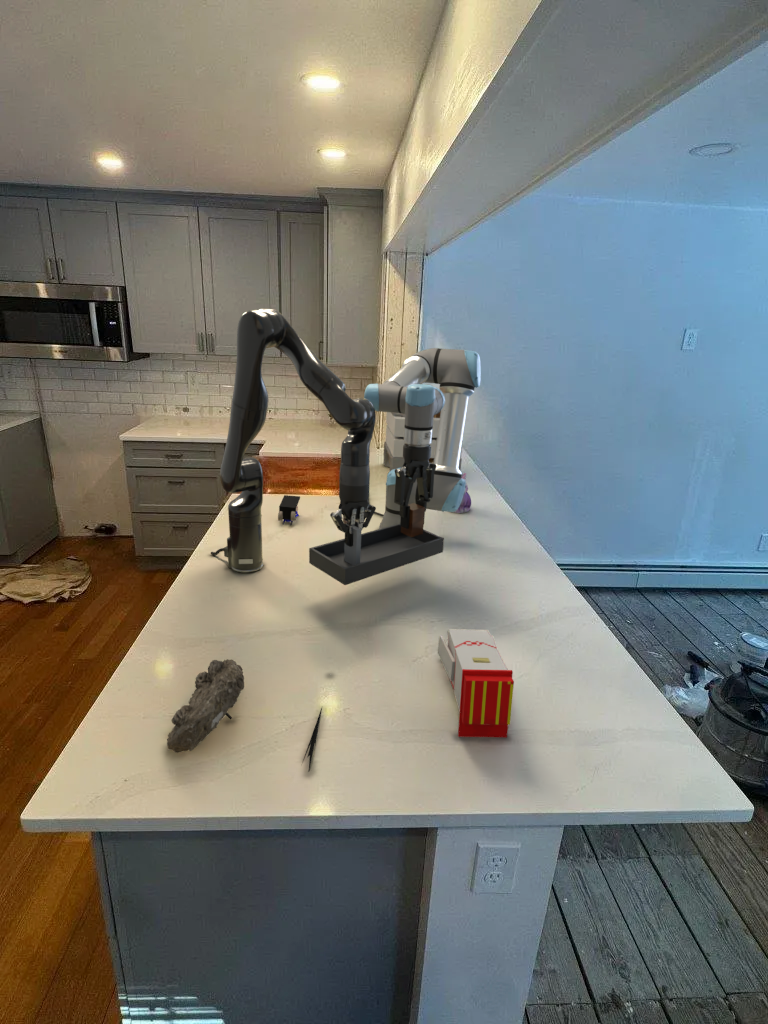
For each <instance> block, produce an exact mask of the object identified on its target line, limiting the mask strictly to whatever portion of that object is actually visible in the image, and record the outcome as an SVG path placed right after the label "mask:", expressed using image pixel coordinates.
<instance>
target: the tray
mask: <svg viewBox="0 0 768 1024" xmlns="http://www.w3.org/2000/svg"><path fill="white" fill-rule="evenodd" d="M444 541H445V538H444V537H442V536H439V535H437V534H435V533H432V532H430V531H428V530H426V529H424V528H423V534H421V535H418V536H414V537H410V536H407V535H405V534H403V533H401V526H400V524H396V525H392V526H389V527H385V528H381V529H379V528H378V529H374V530H371V531H367V532H364V533H362V531H361V529H360V528H358V527H356V526H353V546H351V547H349V546H347V545H346V544H345V538H341V539H338V540H334V541H330V542H326V543H324V544H319V545H316V546H312V547H309V548H308V557H309V558H308V563H309V564H310V565H311V566H313V567H315V568H317V569H318V570H320V571H321V572H323V573H325V574H326V575H327V576H329V577H331V578H332V579H334V580H335V581H337V582H339V583H340V584H342V585H343V586H348V585H350V584H353V583H357V582H359V581H361V580H365V579H368V578H371V577H373V576H377V575H379V574H382V573H386V572H388V571H392V570H394V569H397V568H401V567H403V566H406V565H409V564H412V563H416V562H418V561H422V560H424V559H427V558H430V557H433V556H436V555H439V554H442V553H444Z"/></svg>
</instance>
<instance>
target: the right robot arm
mask: <svg viewBox="0 0 768 1024" xmlns="http://www.w3.org/2000/svg"><path fill="white" fill-rule="evenodd" d="M481 373H482V365H481V358H480V354H479V353H478V352H477V351H475V350H468V349H457V348H456V349H455V348H438V347H433V348H426V349H423V350H420V351H417V352H415V353H413V354H411V355H410V356H409V357H407V358H406V359H405V360H404V361H403V363H402V365H401V367H400V368H399V369H398V370H397V371H395V372H394V373H393V374H392V375H391V376H389V377H388V378H387V379H386V380H385V381H384V382H383V383H369V384H368V385H366V387H365V390H364V394H363V395H364V396H363V398H365V399H368V400H369V401H370V402H371V403H372V404H373V406H374V409H375V412H376V413H377V412H378V413H379V412H381V413H386V412H391V413H402V414H405V426H404V443H405V444H404V445H403V458H404V464H403V467H402V468H396V469H393V470H391V471H390V470H389V472H388V473H387V475H386V482H385V504H384V505H385V507H384V508H385V509H384V513H380V512H377V511H375V512H374V515H377V516H380V517H382V519H381V522H379V525H378V529H381V528H385V527H389V526H392V525H396V524H400V526H401V527H404V528H406V529H409V517H410V506H408V504H412V503H415V504H418V505H420V506H422V507H425V511H424V519H425V517H426V516H425V515H426V511H427V510H432V511H437V512H438V511H439V512H441V513H444V512H447V513H456V512H455V511H456V510H457V509H458V508H459V506H460V504H461V501H462V498H463V495H464V491H465V485H466V484H467V482H466V481H465V480H464V479H462V476H463V472H462V470H461V471H460V470H459V460H460V453H461V446H462V447H463V443H462V441H463V439H464V431H465V424H466V418H467V410H468V404H469V398H470V397H471V396H472V395H474V393H475V389H476V388H477V389H478V388H479V387H480V386H481V378H482V374H481ZM430 384H434V385H439V387H435V386H433V385H430ZM440 411H441V413H440V420H439V427H438V434H437V442H436V449H435V456H434V463H430V462H429V461H428V460H429V459H430V457H431V446H430V445H429V444H431V442H432V429H433V417H434V415H436V414H438V413H439V412H440ZM461 454H462V453H461ZM368 503H369V504H370V497H369V498H368Z"/></svg>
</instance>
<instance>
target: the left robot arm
mask: <svg viewBox="0 0 768 1024" xmlns="http://www.w3.org/2000/svg"><path fill="white" fill-rule="evenodd" d="M270 348H271V349H272V348H276V349H277V350H278V351H280V353H282V354H284V355H285V356H286V357H287V358H288V359H289V360H290V361H291V363H292V365H293V366H294V369H295V371H296V373H297V375H298V378H299V380H300V381H301V383H302V384H303V386H304V387H305V388H306V389H307V390H308V391H309V392H310V393H311V394H313V395H314V397H316V398H317V399H318V400H319V401H320V402H321V403H322V404H323V405H324V407H325V409H326V410H327V412H328V413H329V415H330V416H331V417H332V419H333V420H334V421H335V422H336V424H337V425H338V426H340V427H341V428H343V429H344V430H346V431H347V435H346V437H345V438H344V439H343V440H342V441H341V446H340V465H339V476H338V477H339V478H338V481H339V482H338V498H339V501H340V502H339V505H338V509H337V510H335V512H333V511H332V512H331V513H330V514H329V516H330V518H331V519H332V521H333V523H334V525H335V526H336V528H337V530H338V531H340V532H342V533H344V539H345V544H346V545H347V546H349V547H351V546H353V526H356V527H358V528H360V529H361V532H362V531H363V529H364V528H368V526H369V524H370V522H371V520H372V518H373V515H375V513H374V512H376V510H377V507H376V506H374V505H372V504H370V502H369V503H368V498H369V499H370V484H371V483H370V480H371V469H370V458H371V457H370V454H371V453H370V452H371V451H370V449H371V442H372V439H373V435H374V430H375V426H376V419H377V418H376V411H375V409H374V406H373V404H372V403H371V402H370V401H369V400H368V399H365V398H364V397H358V398H355V399H352V398H351V397H350V396H349V395H348V394H347V392H346V389H347V388H346V384H345V383H344V382H343V381H342V380H341V379H340V377H339V376H337V375H336V374H335V373H334V372H333V371H332V370H331V369H330V368H329V367H327V365H326V364H324V363H323V362H322V361H321V360H320V359H319V358H318V356H316V354H314V352H313V351H312V349H310V347H308V345H307V343H305V341H304V340H303V338H302V337H301V336H300V335H299V334H298V332H297V331H296V330H295V328H294V327H293V326H292V324H290V322H289V321H288V320H287V319H286V317H285V316H284V315H283V314H282V313H281V312H280V311H279V310H277V309H275V308H272V307H264V308H257V309H251V310H247V311H245V312H244V313H242V315H241V316H240V318H239V320H238V323H237V330H236V361H235V363H236V364H235V373H234V374H235V375H234V385H233V393H232V397H231V406H230V414H229V423H228V424H229V425H228V429H227V431H228V432H227V438H226V443H225V446H224V451H223V455H222V458H221V459H222V460H221V464H220V469H219V470H220V471H219V479H220V484H221V487H222V489H223V490H224V491H225V492H226V493H229V494H235V493H240V494H239V495H238V496H236V497H235V498H233V499H232V500H231V501H230V502H229V503H228V506H227V511H228V513H227V514H228V531H229V536H228V537H227V538H226V546H225V547H222V548H221V547H220V548H218V549H217V550H216V551H215V552H214V551H210V555H211V556H217V555H219V554H220V553H221V552H223V557H225V558H227V566H228V569H231V570H232V571H234V572H237V573H241V574H243V573H254V572H256V571H260V570H261V569H262V568H263V567H264V558H263V527H262V505H263V501H264V472H263V467H262V464H261V463H260V460H258V459H257V458H256V457H253V456H247V457H244V456H245V454H246V451H247V449H248V448H249V446H250V445H251V443H252V442H253V441H254V440H255V439H256V437H257V436H258V435H259V433H260V432H261V430H262V429H263V427H264V426H265V423H266V419H267V414H268V409H269V401H270V400H269V393H268V389H267V387H266V384H265V381H264V378H263V375H262V367H263V359H264V355H265V351H266V349H270Z"/></svg>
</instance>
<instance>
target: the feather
mask: <svg viewBox="0 0 768 1024" xmlns="http://www.w3.org/2000/svg"><path fill="white" fill-rule="evenodd" d="M329 675H330V676H331V675H332V674H331V673H330V674H329ZM322 710H323V707H321V708H320V710H319V713H318V716H317V719H316V723H315V725H314V728H313V731H312V733H311V737H310V739H309V742H308V745H307V748H306V751H305V754H304V757H303V760H302V763H301V767H302V765H303V763H304V761H305V758H308V759H309V760H308V762H307V763H308V764H307V766H308V771H310V770H311V766H312V765H311V764H312V760H313V757H315V756H314V755H315V751H316V749H315V746H317V739H318V733H319V729H320V722H321V717H322V712H323V711H322ZM313 754H314V755H313ZM306 755H307V757H306Z"/></svg>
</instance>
